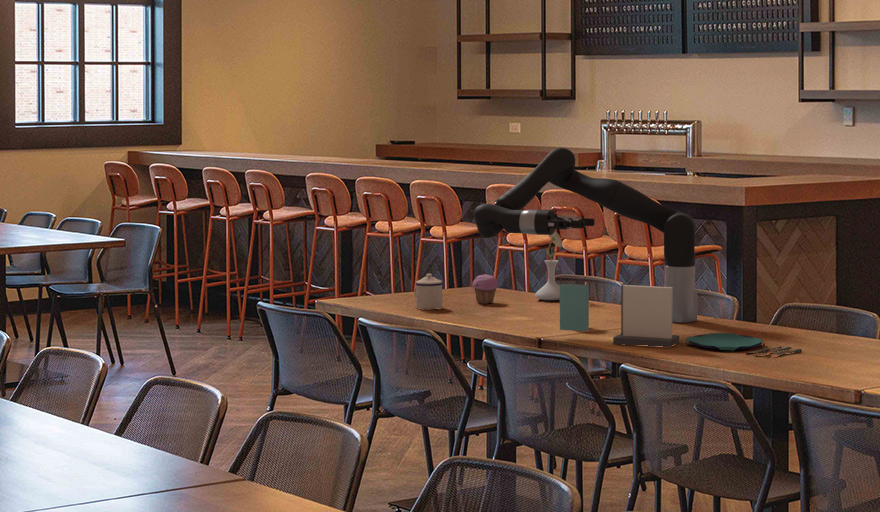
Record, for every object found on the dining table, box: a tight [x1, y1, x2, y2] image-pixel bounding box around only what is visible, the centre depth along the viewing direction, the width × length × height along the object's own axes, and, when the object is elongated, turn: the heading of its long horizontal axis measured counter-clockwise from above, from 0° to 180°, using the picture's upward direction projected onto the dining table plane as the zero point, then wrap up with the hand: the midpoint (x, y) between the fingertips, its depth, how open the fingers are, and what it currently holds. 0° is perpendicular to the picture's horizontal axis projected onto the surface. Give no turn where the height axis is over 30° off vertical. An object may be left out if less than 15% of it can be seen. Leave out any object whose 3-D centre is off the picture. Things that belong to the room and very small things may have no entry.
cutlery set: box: [685, 332, 802, 355], centre depth 337 cm, size 20×30×2 cm, turn 36°
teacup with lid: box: [414, 273, 443, 309], centre depth 417 cm, size 12×9×12 cm
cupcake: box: [471, 273, 499, 305], centre depth 427 cm, size 9×9×10 cm
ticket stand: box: [612, 284, 680, 347], centre depth 345 cm, size 16×10×16 cm, turn 64°
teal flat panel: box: [559, 283, 590, 332], centre depth 354 cm, size 8×2×13 cm, turn 64°
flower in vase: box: [534, 230, 563, 302], centre depth 432 cm, size 13×11×25 cm
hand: (589, 223), depth 363 cm, fingers open, 8 cm apart
